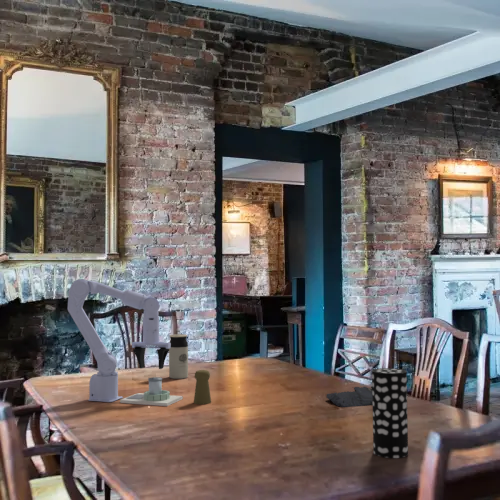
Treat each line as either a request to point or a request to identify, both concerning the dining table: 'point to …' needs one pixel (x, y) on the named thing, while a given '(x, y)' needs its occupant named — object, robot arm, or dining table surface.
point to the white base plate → (152, 399)
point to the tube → (155, 385)
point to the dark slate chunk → (352, 397)
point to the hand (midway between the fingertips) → (151, 368)
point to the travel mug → (178, 357)
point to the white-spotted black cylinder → (390, 412)
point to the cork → (202, 387)
